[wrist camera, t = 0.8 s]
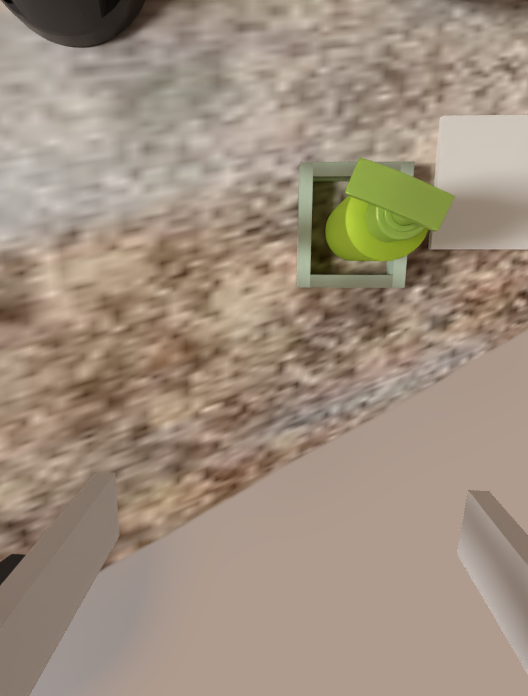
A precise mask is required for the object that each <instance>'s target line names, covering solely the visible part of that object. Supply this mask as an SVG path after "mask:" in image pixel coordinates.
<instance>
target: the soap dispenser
mask: <svg viewBox="0 0 528 696" xmlns="http://www.w3.org/2000/svg"><path fill="white" fill-rule="evenodd" d="M345 192H346V193H347V194H348V195H349V196H348V197H347V198H346V199H345V200H344V201H343V202H341V203H340V204H339V205H338V206H337V207H336V208H335V209H334V210H333V211H332V213H331V214H330V216H329V217H328V220H327V222H326V226H325V238H326V241H327V244H328V246H329V248H330V249H331V251H332V252H333V253H334V254H335V255H337V256H338V257H340V258H342V259H345V260H350V261H391V260H396V259H400V258H402V257H404V256H406V255H408V254H410V253H411V252H413V251H414V250H415V249H416V248H417V247H418V246H419V245H420V244H421V243H422V241H423V240H424V238H425V237H426V235H427V233H428V230H432V231H434V232H435V231H438V230H439V229H440V226H441V224H442V222H443V220H444V218H445V216H446V214H447V212H448V210H449V208H450V206H451V204H452V202H453V200H454V197H455V196H454V195H452V194H450V193H448V192H445V191H443V190H441V189H439V188H437V187H435V186H432V185H430V184H428V183H426V182H424V181H421V180H419V179H417V178H415V177H412V176H410V175H408V174H405V173H403V172H400V171H398V170H395V169H392V168H390V167H387V166H384V165H381V164H378V163H376V162H373V161H370V160H367V159H363V158H359V160H358V162H357V164H356V167H355V169H354V171H353V174H352V176H351V178H350V181H349V183H348V186H347V188H346V191H345Z"/></svg>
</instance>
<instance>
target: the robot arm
mask: <svg viewBox="0 0 528 696" xmlns="http://www.w3.org/2000/svg"><path fill="white" fill-rule="evenodd" d="M1 1H2V2H3V3H4V4H5V6H6V7H7V8H8V9H9V10H10V11H11V12H12V13H13V14H14V15H15V16H17V17H18V18H19V19H20V20H21V21H22V22H23V23H24V24H25V25H26V26H27V27H29V28H30V29H31V30H32V31H34V32H35V33H37V34H38V35H40V36H41V37H43V38H45V39H47V40H49V41H51V42H54V43H57V44H60V45H65V46H71V47H86V46H92V45H97V44H100V43H103V42H105V41H107V40H109V39H111V38H113V37H115V36H116V35H118V34H119V33H120V32H121V31H123V30H124V29H125V28H126V27H127V26H128V25H129V24H130V23H131V22H132V21H133V19H134V18H135V17H136V15H137V14H138V12H139V11H140V9H141V7H142V6H143V4H144V2H145V0H1ZM118 537H119V522H118V508H117V493H116V478H115V473H102V472H95V473H94V474H93V475H92V477H91V478H90V479H89V480H88V481H87V483H86V484H85V485H84V486H83V487H82V489H81V490H80V491H79V492H78V493H77V495H76V496H75V497H74V498H73V499H72V500H71V502H70V503H69V504H68V505H67V506H66V508H65V509H64V510H63V511H62V512H61V514H60V515H59V516H58V517H57V518H56V520H55V521H54V522H53V523H52V524H51V526H50V527H49V528H48V529H47V530H46V532H45V533H44V534H43V535H42V536H41V538H40V539H39V540H38V541H37V542H36V544H35V545H34V546H33V547H32V548H31V550H30V551H29V552H28V553H27V554H26V555H21V554H11V555H10V556H8V557H7V558H5V559H4V560H3V561H1V562H0V696H29V695H30V693H31V692H32V690H33V688H34V686H35V685H36V683H37V681H38V679H39V677H40V676H41V674H42V672H43V670H44V669H45V667H46V665H47V663H48V661H49V660H50V658H51V656H52V654H53V652H54V651H55V649H56V647H57V646H58V644H59V642H60V640H61V638H62V637H63V635H64V633H65V631H66V630H67V628H68V626H69V624H70V623H71V621H72V619H73V617H74V615H75V614H76V612H77V610H78V608H79V607H80V605H81V603H82V601H83V599H84V598H85V596H86V594H87V592H88V590H89V589H90V587H91V585H92V583H93V582H94V580H95V578H96V576H97V575H98V573H99V571H100V569H101V568H102V566H103V564H104V562H105V560H106V559H107V557H108V555H109V553H110V552H111V550H112V548H113V546H114V544H115V543H116V541H117V539H118ZM457 555H458V556H459V558H460V560H461V561H462V563H463V565H464V566H465V568H466V570H467V572H468V573H469V575H470V577H471V578H472V580H473V582H474V583H475V585H476V587H477V589H478V590H479V592H480V594H481V595H482V597H483V599H484V600H485V602H486V604H487V606H488V607H489V609H490V611H491V612H492V614H493V616H494V618H495V619H496V621H497V623H498V624H499V626H500V628H501V629H502V631H503V633H504V635H505V636H506V638H507V640H508V641H509V643H510V645H511V646H512V648H513V650H514V651H515V653H516V655H517V657H518V658H519V660H520V662H521V664H522V665H523V667H524V668H525V670H526V672H527V674H528V535H527V534H526V533H525V532H524V530H523V529H522V528H521V527H520V526H519V525H518V524H517V522H516V521H515V520H514V519H513V518H512V517H511V516H510V514H509V513H508V512H507V511H506V510H505V509H504V508H503V507H502V505H501V504H500V503H499V502H498V501H497V500H496V498H495V497H494V496H493V495H492V494H491V493H490V492H489V491H474V490H468V493H467V499H466V505H465V511H464V517H463V522H462V528H461V535H460V539H459V546H458V551H457Z"/></svg>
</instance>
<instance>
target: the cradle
mask: <svg viewBox="0 0 528 696" xmlns="http://www.w3.org/2000/svg"><path fill="white" fill-rule="evenodd" d="M376 163H378V164H381V165H384V166H387V167H390V168H392V169H395V170H398V171H400V172H403V173H405V174H408V175H410V176H412V177H413V176H414V163H415V162H376ZM356 164H357V162H300V166H299V194H298V244H297V287H346V288H405V277H406V264H407V255H406V256H404V257H402V258H400V259H396V260H391V261H387V272H386V274H310V265H311V228H312V191H313V182H324V181H350V178H351V176H352V174H353V171H354V169H355V167H356Z"/></svg>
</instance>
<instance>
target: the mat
mask: <svg viewBox="0 0 528 696" xmlns="http://www.w3.org/2000/svg"><path fill="white" fill-rule="evenodd" d="M434 186H435V187H437V188H439V189H441V190H443V191H445V192H448V193H450V194H452V195H454V196H455V197H454V200H453V202H452V204H451V206H450V208H449V210H448V212H447V214H446V216H445V218H444V220H443V222H442V224H441V226H440V229H439V230H438V231H435V232H434V231H432V230H430V233H429V244H428V249H528V115H467V116H442V117H441V118H440V121H439V133H438V144H437V155H436V166H435V177H434Z"/></svg>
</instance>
